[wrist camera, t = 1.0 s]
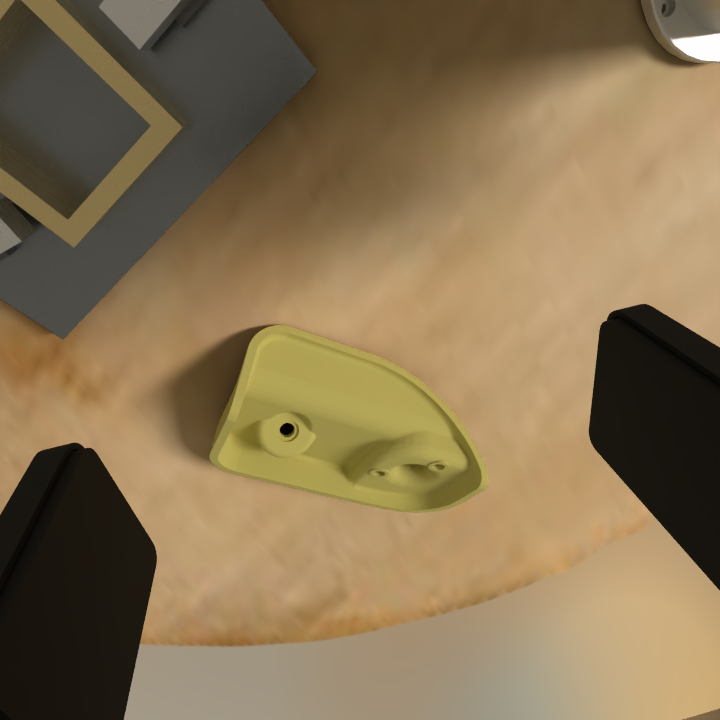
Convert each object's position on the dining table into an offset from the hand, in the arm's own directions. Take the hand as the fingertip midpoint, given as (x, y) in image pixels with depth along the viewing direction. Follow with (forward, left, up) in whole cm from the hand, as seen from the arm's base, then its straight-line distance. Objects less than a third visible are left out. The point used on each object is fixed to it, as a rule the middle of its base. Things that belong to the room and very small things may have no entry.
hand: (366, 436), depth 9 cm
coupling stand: (+5, -10, -25) cm, 27 cm away
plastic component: (+10, +16, -25) cm, 31 cm away
